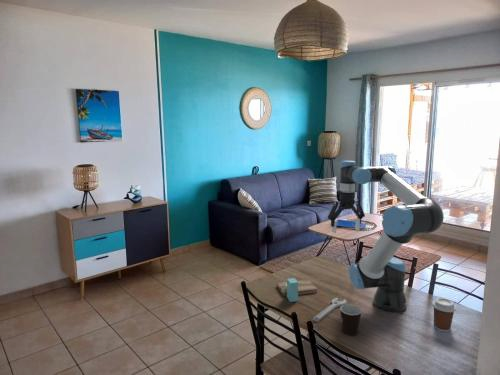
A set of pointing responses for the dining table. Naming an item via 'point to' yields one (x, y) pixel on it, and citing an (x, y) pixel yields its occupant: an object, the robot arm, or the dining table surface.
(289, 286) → the light blue block
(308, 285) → the walnut board
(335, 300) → the adjustable wrench
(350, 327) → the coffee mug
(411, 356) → the dining table surface
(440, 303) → the coffee cup
